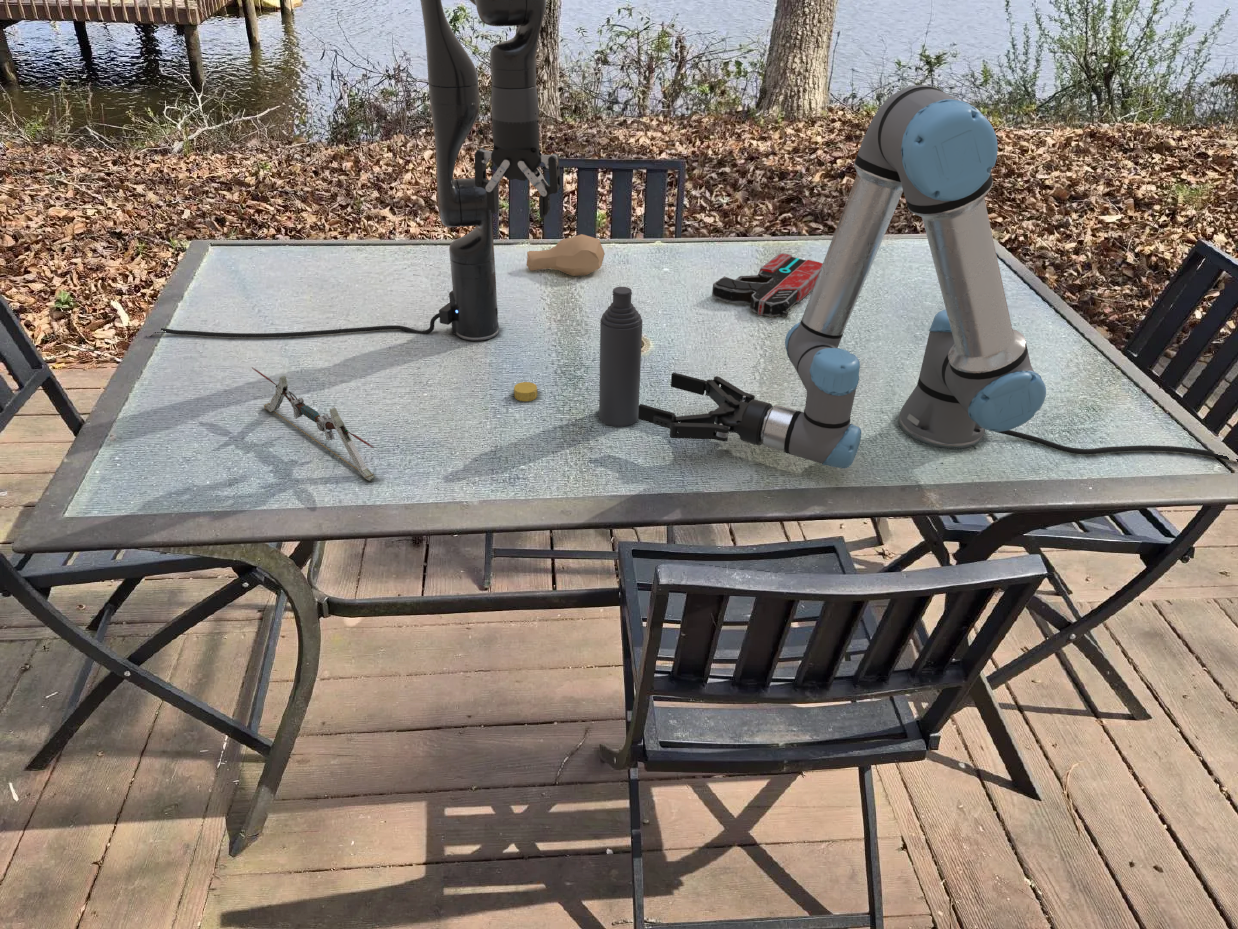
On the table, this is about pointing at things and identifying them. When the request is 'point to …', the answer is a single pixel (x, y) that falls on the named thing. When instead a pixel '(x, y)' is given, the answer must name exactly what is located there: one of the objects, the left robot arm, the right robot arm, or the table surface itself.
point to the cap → (525, 391)
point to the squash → (569, 256)
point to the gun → (771, 285)
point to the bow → (319, 423)
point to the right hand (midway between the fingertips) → (655, 394)
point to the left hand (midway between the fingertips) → (519, 214)
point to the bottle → (620, 360)
